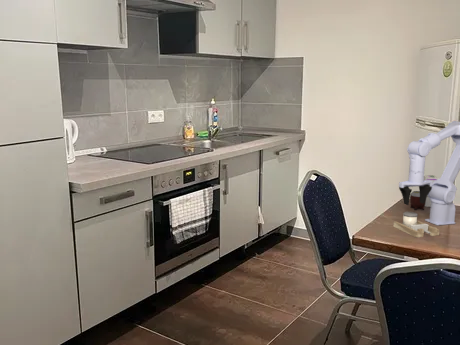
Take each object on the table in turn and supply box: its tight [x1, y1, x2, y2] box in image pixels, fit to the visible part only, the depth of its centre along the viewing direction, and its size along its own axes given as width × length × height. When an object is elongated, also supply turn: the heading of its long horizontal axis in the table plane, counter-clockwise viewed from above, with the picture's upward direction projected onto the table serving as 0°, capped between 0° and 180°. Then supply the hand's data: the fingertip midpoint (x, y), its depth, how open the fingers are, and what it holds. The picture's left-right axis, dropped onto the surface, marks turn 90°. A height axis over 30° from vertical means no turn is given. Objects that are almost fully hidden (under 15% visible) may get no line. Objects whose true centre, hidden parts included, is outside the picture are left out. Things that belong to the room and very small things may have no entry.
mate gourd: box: [409, 190, 426, 211], centre depth 216 cm, size 8×8×15 cm
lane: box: [393, 220, 440, 238], centre depth 184 cm, size 10×15×3 cm
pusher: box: [411, 223, 430, 235], centre depth 179 cm, size 7×6×3 cm
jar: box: [402, 211, 418, 228], centre depth 187 cm, size 5×5×6 cm
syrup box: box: [424, 174, 439, 208], centre depth 222 cm, size 6×6×14 cm
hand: (414, 203), depth 188 cm, fingers open, 7 cm apart
